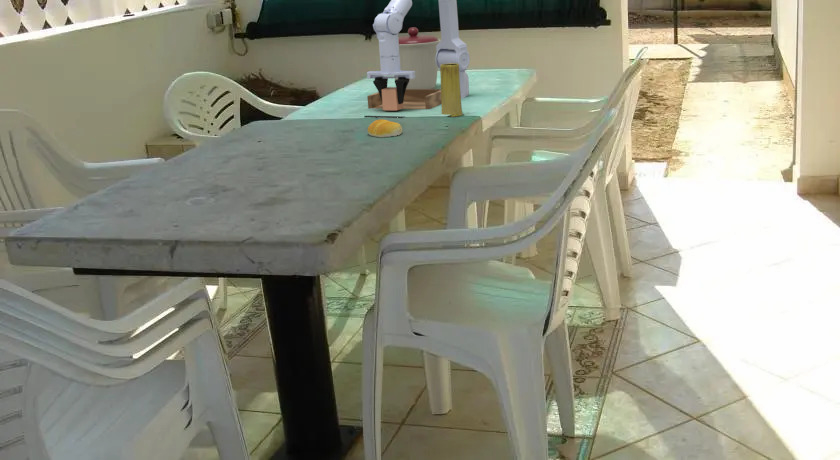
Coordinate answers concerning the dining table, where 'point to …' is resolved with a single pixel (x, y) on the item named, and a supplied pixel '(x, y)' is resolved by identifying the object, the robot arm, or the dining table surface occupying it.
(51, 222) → the dining table surface
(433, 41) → the canister
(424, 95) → the crate
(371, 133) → the bread roll
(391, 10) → the robot arm
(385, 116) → the mat
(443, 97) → the vase
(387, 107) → the block
